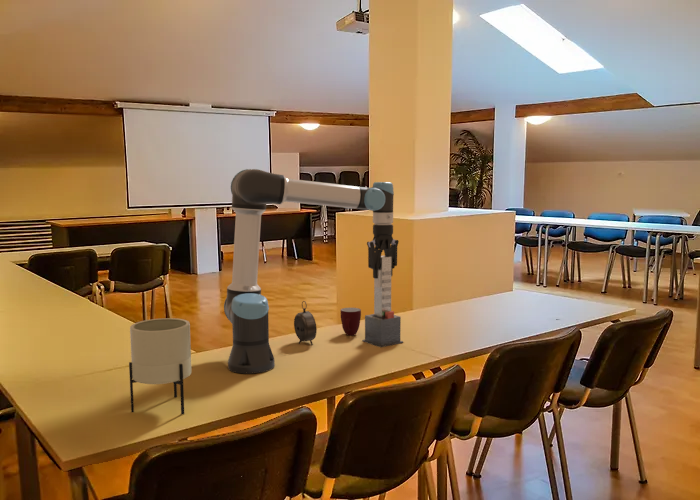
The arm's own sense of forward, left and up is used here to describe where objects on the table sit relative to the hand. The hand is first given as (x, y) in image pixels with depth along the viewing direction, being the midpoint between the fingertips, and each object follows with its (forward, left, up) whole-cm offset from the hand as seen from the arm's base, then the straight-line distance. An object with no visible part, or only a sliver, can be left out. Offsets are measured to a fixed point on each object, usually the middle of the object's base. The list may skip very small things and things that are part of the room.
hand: (382, 286), depth 229 cm
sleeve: (0, 0, -21) cm, 21 cm away
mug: (-4, +15, -22) cm, 27 cm away
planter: (-90, -16, -22) cm, 94 cm away
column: (0, 0, -14) cm, 14 cm away
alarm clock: (-25, +16, -22) cm, 37 cm away
